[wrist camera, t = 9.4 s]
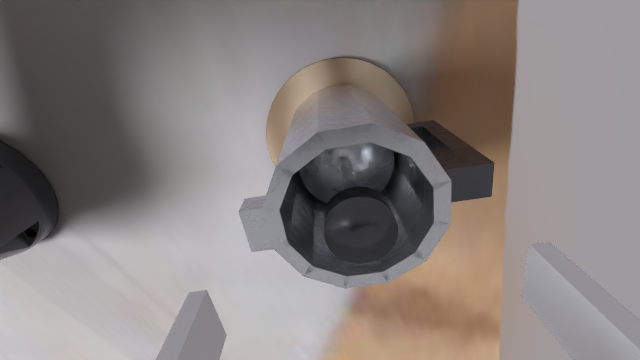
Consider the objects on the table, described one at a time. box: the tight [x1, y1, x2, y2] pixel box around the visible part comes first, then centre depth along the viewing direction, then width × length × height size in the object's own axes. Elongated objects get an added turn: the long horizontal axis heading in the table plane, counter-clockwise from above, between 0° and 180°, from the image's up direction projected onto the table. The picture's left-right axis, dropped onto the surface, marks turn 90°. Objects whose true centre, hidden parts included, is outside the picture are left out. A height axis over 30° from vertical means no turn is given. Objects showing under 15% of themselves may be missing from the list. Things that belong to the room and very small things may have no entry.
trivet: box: [266, 58, 415, 167], centre depth 33 cm, size 16×16×1 cm
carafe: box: [239, 84, 494, 288], centre depth 25 cm, size 16×11×16 cm
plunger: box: [299, 142, 398, 263], centre depth 21 cm, size 8×8×11 cm
